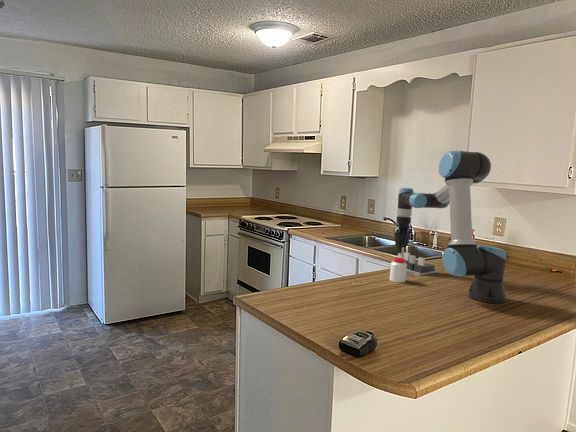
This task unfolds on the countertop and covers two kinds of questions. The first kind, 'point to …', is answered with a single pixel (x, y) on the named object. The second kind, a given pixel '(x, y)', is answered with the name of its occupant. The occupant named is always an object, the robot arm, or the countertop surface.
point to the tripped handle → (406, 256)
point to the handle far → (421, 261)
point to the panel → (420, 268)
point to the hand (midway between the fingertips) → (400, 258)
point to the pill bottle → (398, 270)
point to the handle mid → (412, 259)
